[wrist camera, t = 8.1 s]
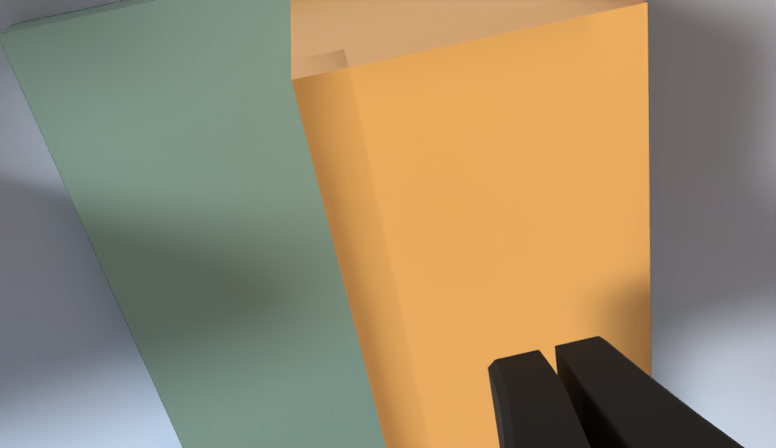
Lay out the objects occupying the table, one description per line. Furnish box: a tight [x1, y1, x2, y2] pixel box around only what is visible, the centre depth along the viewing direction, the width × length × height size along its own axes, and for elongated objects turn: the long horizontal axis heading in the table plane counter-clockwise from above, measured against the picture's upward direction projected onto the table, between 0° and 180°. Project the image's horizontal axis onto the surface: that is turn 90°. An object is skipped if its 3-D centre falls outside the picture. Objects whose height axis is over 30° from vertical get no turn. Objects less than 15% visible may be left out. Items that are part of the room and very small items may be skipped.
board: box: [0, 0, 386, 448], centre depth 20 cm, size 20×13×1 cm, turn 11°
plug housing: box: [290, 0, 651, 448], centre depth 15 cm, size 12×5×6 cm, turn 11°
